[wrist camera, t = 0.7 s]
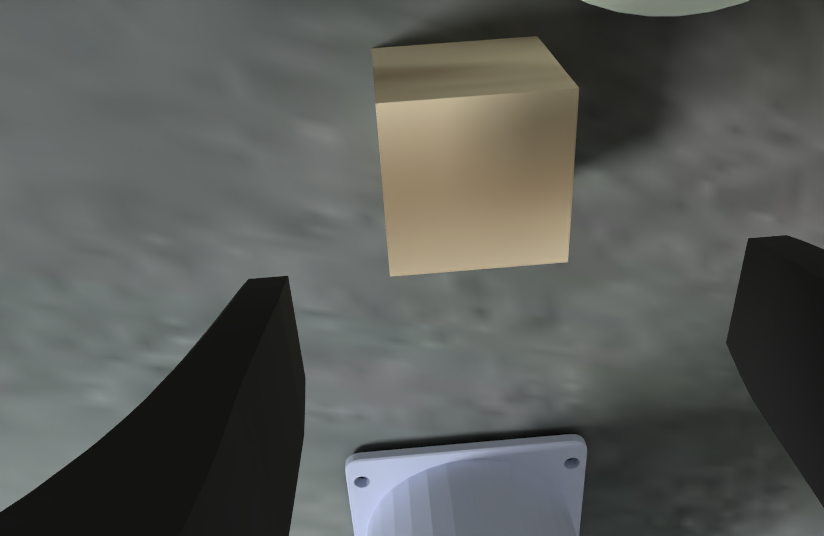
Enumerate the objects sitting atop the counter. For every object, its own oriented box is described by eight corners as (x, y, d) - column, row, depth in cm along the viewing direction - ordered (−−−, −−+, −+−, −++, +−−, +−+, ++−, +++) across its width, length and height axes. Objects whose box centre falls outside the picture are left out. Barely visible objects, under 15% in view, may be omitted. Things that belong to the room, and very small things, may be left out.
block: (531, 185, 20) (568, 261, 17) (384, 197, 20) (390, 276, 17) (536, 35, 18) (579, 88, 15) (371, 47, 18) (375, 103, 14)
